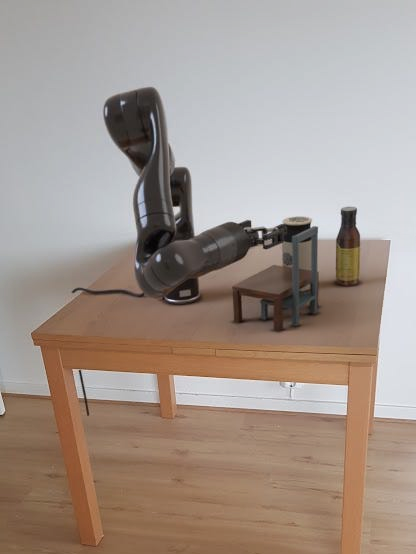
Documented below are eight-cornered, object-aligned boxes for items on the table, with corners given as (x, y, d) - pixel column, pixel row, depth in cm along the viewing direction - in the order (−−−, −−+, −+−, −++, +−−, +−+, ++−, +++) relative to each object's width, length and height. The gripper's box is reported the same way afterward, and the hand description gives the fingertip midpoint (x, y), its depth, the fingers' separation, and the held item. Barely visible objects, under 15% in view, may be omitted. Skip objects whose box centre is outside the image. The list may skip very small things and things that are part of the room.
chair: (260, 319, 165) (257, 232, 154) (282, 306, 171) (281, 222, 161) (296, 326, 159) (296, 237, 149) (318, 312, 166) (319, 226, 155)
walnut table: (234, 321, 165) (232, 286, 160) (274, 298, 177) (273, 264, 172) (279, 331, 158) (278, 294, 153) (318, 306, 170) (318, 271, 165)
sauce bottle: (343, 277, 187) (345, 203, 177) (363, 281, 184) (366, 205, 174) (330, 284, 183) (332, 209, 173) (351, 288, 179) (354, 211, 169)
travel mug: (302, 280, 187) (302, 214, 178) (318, 288, 181) (319, 220, 172) (277, 286, 185) (275, 219, 176) (292, 294, 178) (292, 225, 169)
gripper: (250, 230, 123) (296, 210, 134) (189, 223, 131) (237, 205, 142) (251, 271, 127) (297, 248, 138) (192, 262, 135) (239, 241, 146)
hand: (266, 226), depth 140 cm, fingers open, 8 cm apart
